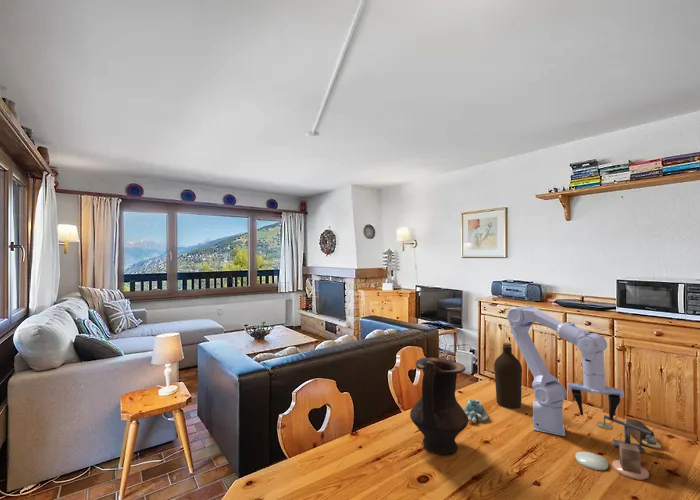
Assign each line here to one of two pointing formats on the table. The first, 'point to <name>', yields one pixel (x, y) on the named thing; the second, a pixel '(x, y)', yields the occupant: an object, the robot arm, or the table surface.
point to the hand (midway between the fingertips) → (596, 416)
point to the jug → (439, 406)
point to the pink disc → (618, 468)
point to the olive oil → (508, 378)
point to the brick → (637, 434)
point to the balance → (648, 441)
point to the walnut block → (629, 457)
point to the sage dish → (591, 461)
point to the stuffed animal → (475, 411)
